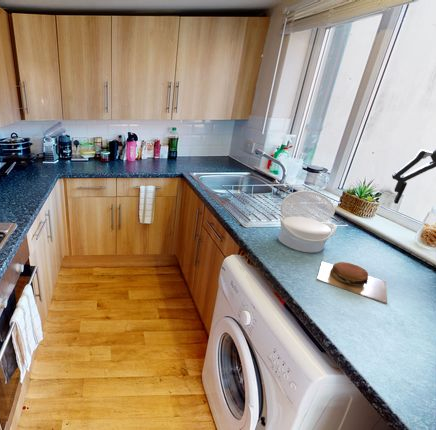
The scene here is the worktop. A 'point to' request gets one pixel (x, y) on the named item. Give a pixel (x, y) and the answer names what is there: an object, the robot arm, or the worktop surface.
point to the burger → (349, 273)
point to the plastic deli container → (306, 222)
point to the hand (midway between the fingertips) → (425, 208)
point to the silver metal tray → (371, 290)
